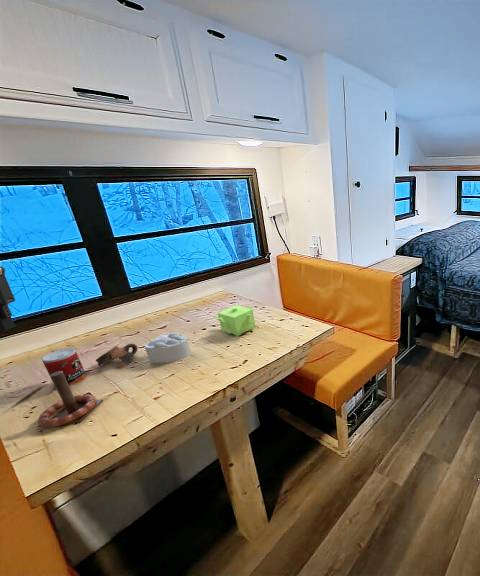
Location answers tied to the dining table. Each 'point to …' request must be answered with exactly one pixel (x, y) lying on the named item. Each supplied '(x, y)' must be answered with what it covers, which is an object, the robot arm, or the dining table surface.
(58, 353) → the canned food
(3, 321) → the robot arm
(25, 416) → the dining table surface
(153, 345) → the lumpy-topped squat cylinder
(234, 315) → the knobby lime green cube
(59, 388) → the post
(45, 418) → the ring
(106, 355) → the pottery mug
